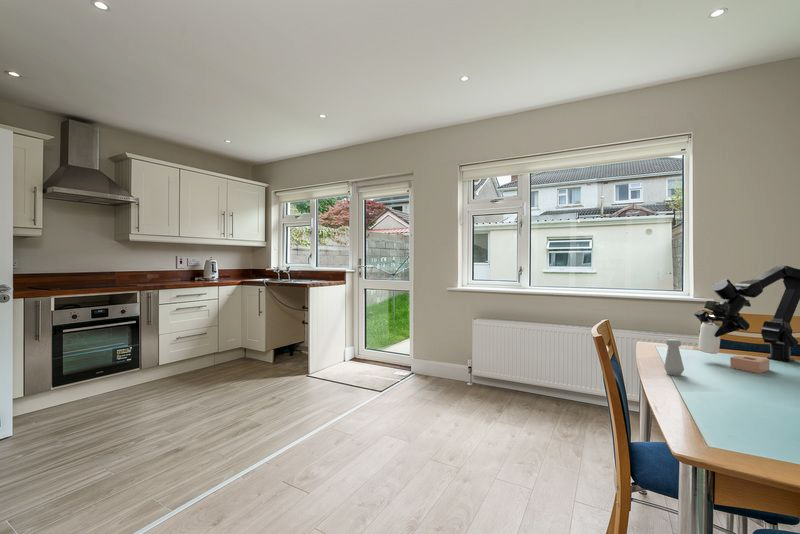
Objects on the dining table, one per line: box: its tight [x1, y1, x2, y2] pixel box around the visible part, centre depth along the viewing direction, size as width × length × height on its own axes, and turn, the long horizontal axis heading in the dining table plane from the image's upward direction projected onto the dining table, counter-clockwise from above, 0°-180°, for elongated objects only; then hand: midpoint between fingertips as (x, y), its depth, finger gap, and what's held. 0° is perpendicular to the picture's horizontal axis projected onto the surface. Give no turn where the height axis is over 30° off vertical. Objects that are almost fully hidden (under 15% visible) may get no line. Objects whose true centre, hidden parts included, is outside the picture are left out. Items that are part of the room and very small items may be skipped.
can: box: [698, 321, 722, 355], centre depth 146 cm, size 6×6×12 cm
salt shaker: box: [663, 338, 685, 377], centre depth 131 cm, size 6×6×13 cm
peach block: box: [729, 354, 771, 374], centre depth 136 cm, size 8×8×4 cm
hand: (707, 334), depth 145 cm, fingers closed on can, 6 cm apart
